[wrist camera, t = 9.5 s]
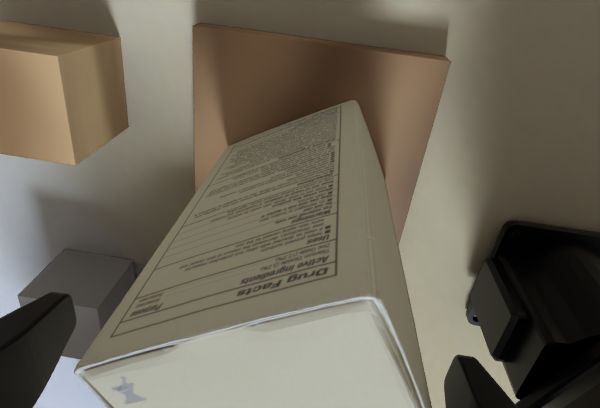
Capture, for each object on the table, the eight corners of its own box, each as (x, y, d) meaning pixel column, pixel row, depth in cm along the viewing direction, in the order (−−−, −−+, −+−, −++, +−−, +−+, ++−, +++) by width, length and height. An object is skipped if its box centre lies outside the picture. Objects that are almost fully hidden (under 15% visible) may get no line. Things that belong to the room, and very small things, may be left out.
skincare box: (266, 222, 20) (176, 496, 10) (223, 141, 18) (56, 373, 8) (392, 183, 19) (448, 464, 8) (360, 89, 17) (378, 296, 6)
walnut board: (445, 56, 17) (450, 61, 16) (390, 255, 22) (392, 267, 21) (200, 22, 17) (192, 25, 16) (201, 226, 22) (195, 237, 21)
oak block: (121, 37, 18) (57, 56, 14) (129, 126, 20) (75, 165, 16) (7, 20, 18) (-88, 35, 14) (27, 111, 20) (-52, 145, 16)
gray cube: (133, 259, 24) (96, 309, 20) (138, 310, 26) (106, 363, 22) (65, 247, 24) (17, 295, 20) (75, 299, 26) (33, 351, 22)
